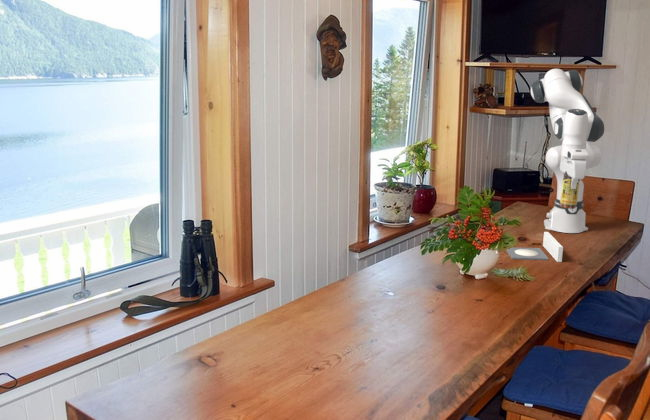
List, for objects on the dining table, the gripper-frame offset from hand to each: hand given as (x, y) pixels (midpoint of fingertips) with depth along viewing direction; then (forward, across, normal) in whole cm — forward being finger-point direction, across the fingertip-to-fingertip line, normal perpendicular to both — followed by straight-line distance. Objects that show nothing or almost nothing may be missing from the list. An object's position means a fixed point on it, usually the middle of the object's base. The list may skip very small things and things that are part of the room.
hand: (570, 186), depth 243 cm
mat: (+27, +3, -16) cm, 32 cm away
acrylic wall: (+27, +1, -5) cm, 28 cm away
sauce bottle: (+9, 0, 0) cm, 9 cm away
